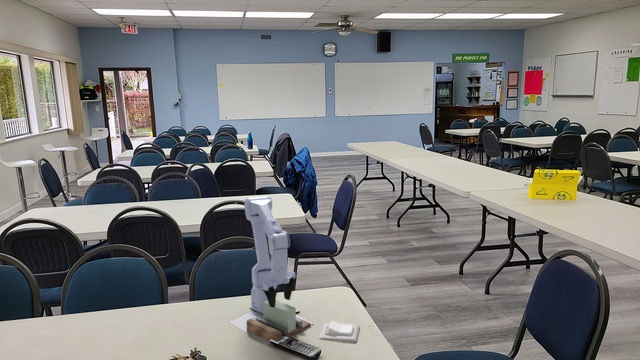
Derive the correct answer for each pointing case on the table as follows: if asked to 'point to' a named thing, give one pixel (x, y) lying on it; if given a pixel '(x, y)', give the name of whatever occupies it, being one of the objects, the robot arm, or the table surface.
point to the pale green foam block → (280, 314)
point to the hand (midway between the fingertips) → (279, 302)
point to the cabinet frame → (273, 328)
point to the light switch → (340, 332)
